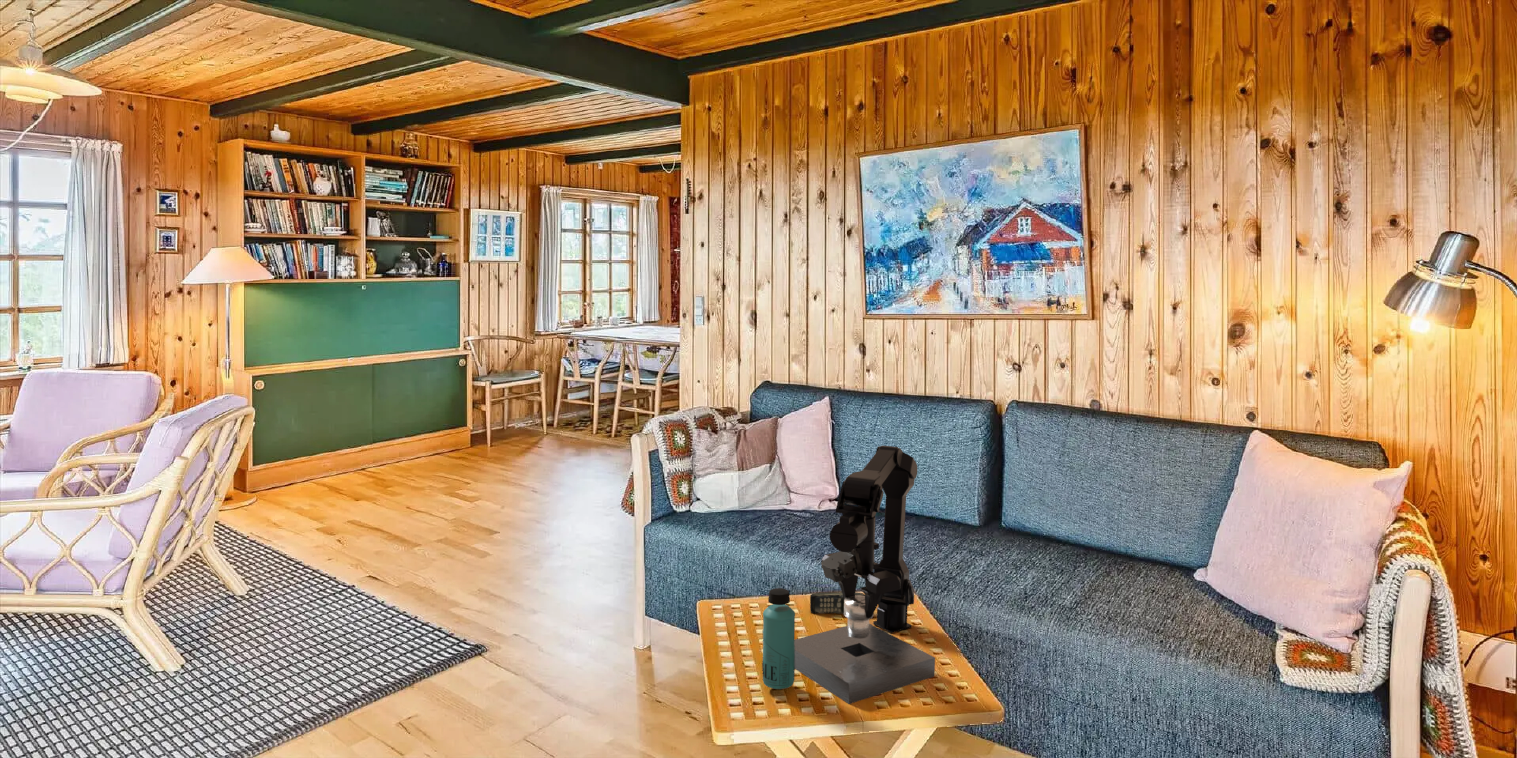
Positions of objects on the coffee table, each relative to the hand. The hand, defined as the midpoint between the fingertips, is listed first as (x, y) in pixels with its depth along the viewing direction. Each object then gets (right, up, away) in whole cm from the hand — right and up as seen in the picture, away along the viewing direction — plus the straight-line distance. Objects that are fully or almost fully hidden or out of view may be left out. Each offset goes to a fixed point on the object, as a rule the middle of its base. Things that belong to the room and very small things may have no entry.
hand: (858, 612), depth 179 cm
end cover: (0, -5, +1) cm, 5 cm away
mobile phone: (-1, -9, +32) cm, 33 cm away
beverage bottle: (-17, -13, -8) cm, 23 cm away
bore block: (0, -12, +1) cm, 12 cm away
